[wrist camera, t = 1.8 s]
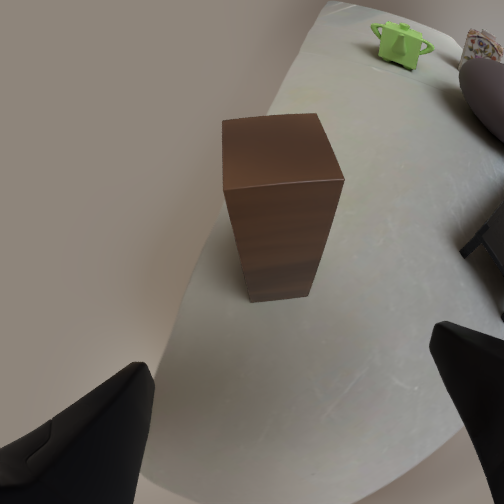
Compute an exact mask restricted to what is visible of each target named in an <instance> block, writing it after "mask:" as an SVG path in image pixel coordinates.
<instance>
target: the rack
mask: <svg viewBox="0 0 504 504" xmlns="http://www.w3.org/2000/svg"><path fill="white" fill-rule="evenodd" d="M481 243H482V244H483V246H484V247H485V249H486V250H487V252H488V253H489V254H490V256H491V257H492V259H493V260H494V262H495V263H496V265H497V266H498V268H499V270H500V271H501V273H502V274H503V276H504V201H503V202H502V203H501V204H500V206H499V207H498V208H497V209H496V211H495V212H494V213H493V214H492V215H491V217H490V218H489V219H488V220H487V221H486V222H485V224H484V225H483V226H482V227H481V228H480V229H479V230H478V232H477V233H476V234H475V236H474V237H473V238H472V239H471V240H470V241H469V242H468V243H467V244H466V245H465V246H464V247H463V248H462V249H461V250H460V253H461V255H462V256H463V257H464V259H465V258H466V257H467V256H468V255H469V254H470V253H472V252H473V251H474V250H475V249H476V248H477V247H478V246H479V245H480V244H481ZM501 318H502V320H503V322H504V313H503V314H502V316H501Z"/></svg>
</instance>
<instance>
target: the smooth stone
mask: <svg viewBox="0 0 504 504" xmlns="http://www.w3.org/2000/svg"><path fill="white" fill-rule="evenodd" d="M459 82H460V88H461V90H462V93H463V95H464V97H465V99H466V101H467V103H468V104H469V106H470V108H471V109H472V111H473V112H474V113H475V114H476V116H477V117H478V118H479V119H480V121H481V122H482V123H483V124H484V125H485V127H486V128H487V129H488V130H489V131H490V132H491V133H493V134H494V135H495V136H496V137H497V138H498V139H499V140H500V141H502V142H503V143H504V64H502V63H500V62H497V61H495V60H491V59H486V58H474V59H470V60H468V61H467V62H465V63H464V64H463V65H462V67H461V68H460V71H459Z"/></svg>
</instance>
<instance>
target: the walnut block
mask: <svg viewBox="0 0 504 504" xmlns="http://www.w3.org/2000/svg"><path fill="white" fill-rule="evenodd" d="M222 158H223V192H224V196H225V200H226V204H227V208H228V213H229V217H230V221H231V225H232V229H233V233H234V237H235V241H236V245H237V249H238V253H239V257H240V261H241V265H242V269H243V273H244V277H245V281H246V285H247V289H248V293H249V297H250V300H251V303H253V302H263V301H272V300H281V299H290V298H298V297H306V296H308V295H309V292H310V289H311V286H312V283H313V280H314V278H315V275H316V272H317V269H318V266H319V263H320V260H321V257H322V254H323V251H324V248H325V245H326V241H327V238H328V235H329V232H330V229H331V225H332V222H333V219H334V216H335V212H336V209H337V205H338V202H339V198H340V195H341V191H342V188H343V184H344V181H345V179H344V176H343V174H342V171H341V169H340V166H339V164H338V161H337V159H336V156H335V154H334V152H333V149H332V147H331V145H330V142H329V140H328V138H327V135H326V133H325V131H324V129H323V127H322V124H321V122H320V120H319V118H318V116H317V114H316V113H309V114H285V115H270V116H259V117H248V118H239V119H231V120H223V121H222Z"/></svg>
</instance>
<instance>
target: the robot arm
mask: <svg viewBox="0 0 504 504" xmlns="http://www.w3.org/2000/svg"><path fill="white" fill-rule="evenodd" d="M429 349H430V352H431V354H432V357H433V359H434V361H435V364H436V366H437V368H438V371H439V373H440V375H441V378H442V380H443V383H444V385H445V387H446V389H447V391H448V393H449V395H450V397H451V399H452V401H453V403H454V405H455V407H456V409H457V411H458V413H459V415H460V417H461V419H462V421H463V423H464V425H465V427H466V429H467V431H468V434H469V436H470V438H471V441H472V443H473V445H474V448H475V450H476V452H477V455H478V457H479V460H480V462H481V465H482V467H483V470H484V473H485V476H486V477H487V478H486V479H487V482H488V485H489V488H490V491H491V494H492V497H493V500H494V504H504V340H501V339H498V338H495V337H492V336H489V335H487V334H484V333H481V332H478V331H475V330H472V329H469V328H466V327H463V326H460V325H457V324H454V323H451V322H448V321H442V322H439V323H437V324H435V326H434V328H433V332H432V336H431V340H430V344H429ZM154 391H155V383H154V380H153V378H152V376H151V373H150V371H149V369H148V366H147V365H146V363H144V362H132V363H130V364H129V365H128V366H126V367H125V368H123V369H122V370H120V371H119V372H118V373H116V374H115V375H114V376H112V377H111V378H110V379H108V380H106V381H105V382H104V383H102V384H101V385H99V386H98V387H96V388H95V389H94V390H92V391H91V392H89V393H88V394H86V395H85V396H84V397H82V398H81V399H79V400H78V401H77V402H75V403H74V404H72V405H71V406H69V407H68V408H66V409H65V410H63V411H62V412H61V413H59V414H57V415H56V416H55V417H53V418H52V420H49V421H47V422H46V423H44V424H43V425H41V426H40V427H38V428H37V429H35V430H34V431H32V432H30V433H28V434H27V435H25V436H23V437H21V438H19V439H18V440H16V441H14V442H12V443H10V444H8V445H6V446H4V447H2V448H0V504H133V502H134V497H135V491H136V486H137V482H138V477H139V473H140V468H141V463H142V459H143V455H144V450H145V446H146V442H147V438H148V433H149V428H150V422H151V413H152V406H153V398H154Z"/></svg>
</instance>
